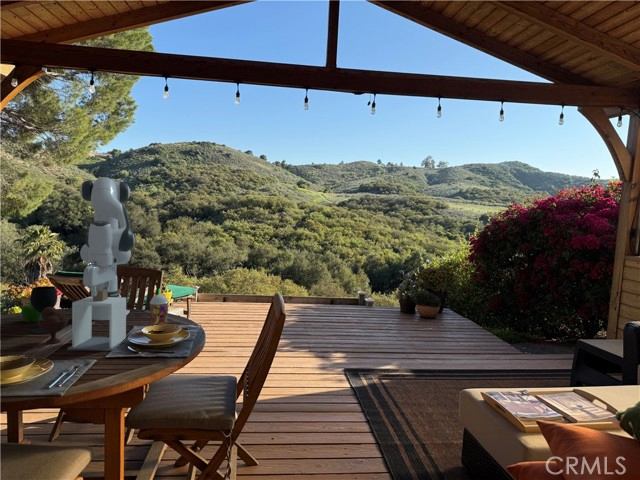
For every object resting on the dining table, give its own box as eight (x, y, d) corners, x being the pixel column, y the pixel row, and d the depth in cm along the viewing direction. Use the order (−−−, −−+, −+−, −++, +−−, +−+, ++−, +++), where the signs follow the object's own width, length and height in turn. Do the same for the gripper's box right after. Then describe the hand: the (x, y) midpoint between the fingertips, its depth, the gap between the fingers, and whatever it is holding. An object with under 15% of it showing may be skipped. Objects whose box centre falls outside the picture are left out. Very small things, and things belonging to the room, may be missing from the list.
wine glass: (45, 327, 199) (45, 285, 198) (62, 329, 196) (62, 286, 195) (24, 332, 190) (24, 288, 188) (42, 335, 187) (42, 290, 186)
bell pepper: (43, 319, 214) (43, 299, 214) (41, 322, 207) (41, 302, 207) (23, 320, 211) (23, 300, 210) (20, 324, 203) (20, 303, 203)
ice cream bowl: (54, 347, 171) (54, 310, 170) (31, 344, 173) (30, 308, 172) (74, 339, 181) (74, 305, 181) (52, 337, 183) (52, 303, 183)
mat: (88, 338, 184) (88, 336, 184) (130, 339, 184) (130, 338, 184) (67, 349, 168) (67, 348, 168) (112, 350, 169) (112, 349, 168)
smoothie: (154, 328, 204) (154, 286, 203) (171, 328, 204) (171, 287, 203) (146, 332, 196) (146, 289, 194) (164, 333, 195) (164, 290, 194)
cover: (89, 337, 183) (89, 287, 182) (125, 338, 183) (126, 288, 182) (72, 346, 170) (72, 292, 169) (111, 348, 170) (111, 293, 169)
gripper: (94, 263, 164) (94, 298, 165) (119, 258, 185) (119, 289, 185) (78, 263, 164) (78, 298, 165) (104, 258, 185) (104, 289, 185)
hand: (100, 293), depth 175 cm, fingers open, 8 cm apart
